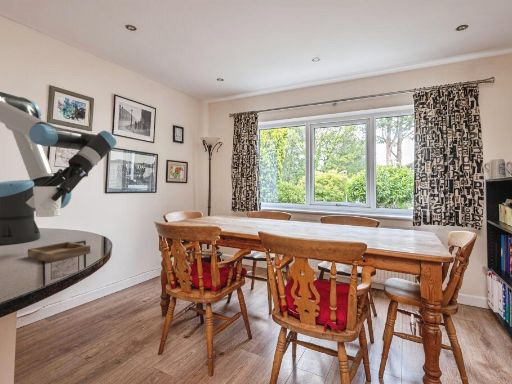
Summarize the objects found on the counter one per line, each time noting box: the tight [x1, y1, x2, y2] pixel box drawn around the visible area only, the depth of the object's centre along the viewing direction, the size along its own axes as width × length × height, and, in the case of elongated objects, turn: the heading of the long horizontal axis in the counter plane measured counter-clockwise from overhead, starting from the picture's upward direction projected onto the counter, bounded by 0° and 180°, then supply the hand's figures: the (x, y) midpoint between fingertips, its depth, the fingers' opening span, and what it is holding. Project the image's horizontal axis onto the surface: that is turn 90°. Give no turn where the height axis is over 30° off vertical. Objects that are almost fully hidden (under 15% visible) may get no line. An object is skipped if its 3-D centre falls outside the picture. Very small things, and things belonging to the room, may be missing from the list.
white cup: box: [33, 187, 62, 218], centre depth 94 cm, size 8×8×10 cm
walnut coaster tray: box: [27, 241, 91, 264], centre depth 87 cm, size 12×12×2 cm
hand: (36, 206), depth 91 cm, fingers closed on white cup, 8 cm apart
